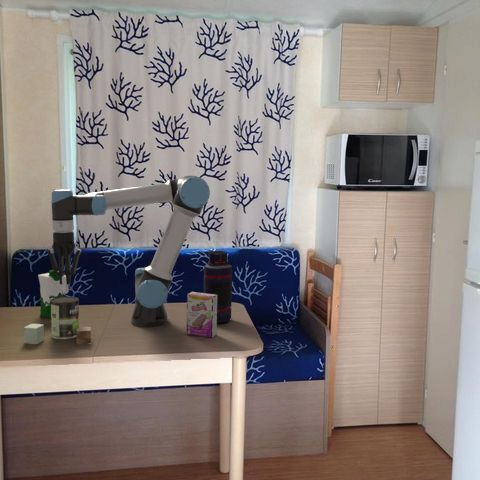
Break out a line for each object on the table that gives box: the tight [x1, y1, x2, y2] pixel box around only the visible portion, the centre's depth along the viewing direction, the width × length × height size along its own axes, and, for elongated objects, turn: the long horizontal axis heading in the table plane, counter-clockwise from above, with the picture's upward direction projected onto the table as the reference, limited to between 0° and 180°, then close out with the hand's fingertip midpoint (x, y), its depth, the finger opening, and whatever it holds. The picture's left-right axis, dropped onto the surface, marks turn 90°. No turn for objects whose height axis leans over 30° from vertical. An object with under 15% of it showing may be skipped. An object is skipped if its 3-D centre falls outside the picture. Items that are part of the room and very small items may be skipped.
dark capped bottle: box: [203, 250, 233, 324], centre depth 231 cm, size 14×12×30 cm
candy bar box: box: [185, 291, 218, 339], centre depth 212 cm, size 11×5×16 cm, turn 71°
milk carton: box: [37, 269, 64, 319], centre depth 233 cm, size 9×9×20 cm
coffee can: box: [50, 296, 80, 340], centre depth 208 cm, size 10×10×14 cm
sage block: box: [23, 323, 45, 345], centre depth 201 cm, size 5×5×6 cm
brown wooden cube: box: [76, 326, 92, 345], centre depth 202 cm, size 5×5×5 cm
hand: (65, 292), depth 207 cm, fingers closed
